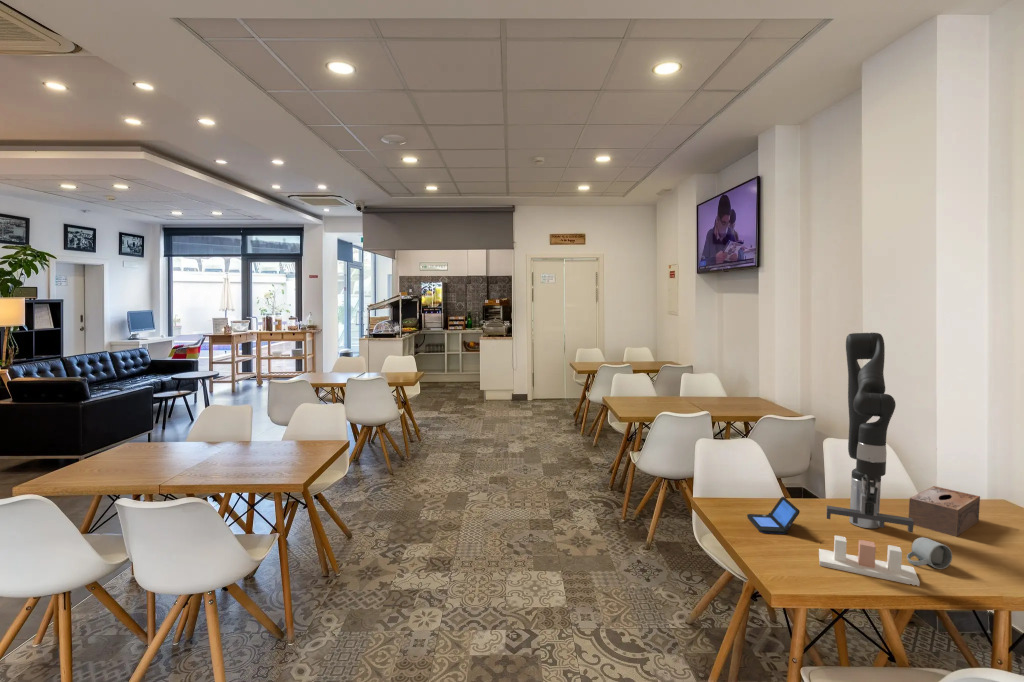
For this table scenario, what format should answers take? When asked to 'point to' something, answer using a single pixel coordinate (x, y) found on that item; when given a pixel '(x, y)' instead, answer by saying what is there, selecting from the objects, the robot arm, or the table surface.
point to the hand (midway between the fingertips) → (868, 512)
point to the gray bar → (876, 516)
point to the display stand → (868, 562)
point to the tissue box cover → (944, 510)
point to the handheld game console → (776, 518)
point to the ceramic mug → (930, 553)
